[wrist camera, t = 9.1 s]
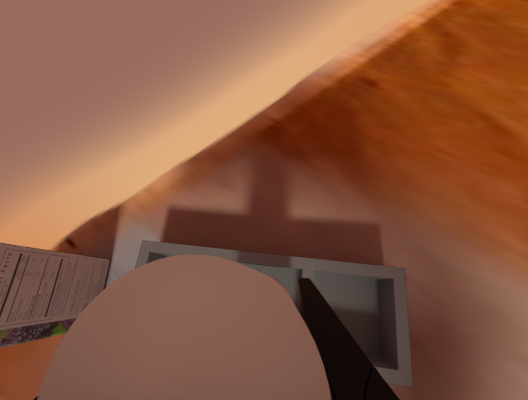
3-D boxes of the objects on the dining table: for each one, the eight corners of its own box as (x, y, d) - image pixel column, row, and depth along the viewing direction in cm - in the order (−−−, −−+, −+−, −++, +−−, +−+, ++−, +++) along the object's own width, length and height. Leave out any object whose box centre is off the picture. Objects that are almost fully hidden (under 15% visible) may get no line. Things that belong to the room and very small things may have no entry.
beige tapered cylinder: (221, 341, 14) (-30, 592, 3) (231, 271, 15) (90, 242, 4) (289, 351, 14) (329, 699, 2) (295, 278, 15) (336, 269, 4)
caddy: (142, 331, 20) (115, 341, 17) (163, 246, 22) (142, 240, 19) (388, 368, 18) (413, 387, 15) (384, 270, 20) (404, 268, 17)
